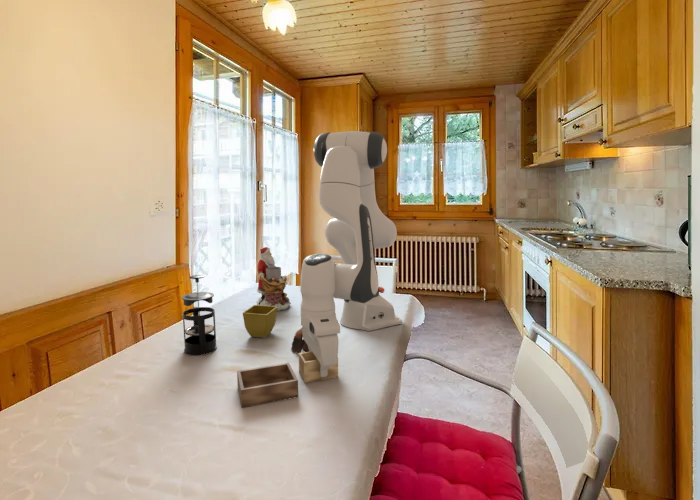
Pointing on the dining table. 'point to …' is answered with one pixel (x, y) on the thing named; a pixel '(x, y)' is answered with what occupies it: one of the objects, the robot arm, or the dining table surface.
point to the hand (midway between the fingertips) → (318, 368)
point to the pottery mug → (299, 343)
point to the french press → (199, 323)
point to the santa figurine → (271, 282)
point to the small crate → (313, 368)
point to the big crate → (266, 384)
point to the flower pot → (260, 320)
